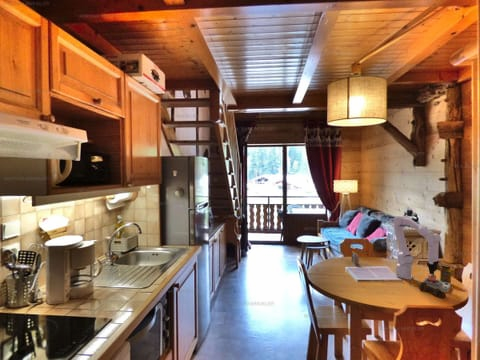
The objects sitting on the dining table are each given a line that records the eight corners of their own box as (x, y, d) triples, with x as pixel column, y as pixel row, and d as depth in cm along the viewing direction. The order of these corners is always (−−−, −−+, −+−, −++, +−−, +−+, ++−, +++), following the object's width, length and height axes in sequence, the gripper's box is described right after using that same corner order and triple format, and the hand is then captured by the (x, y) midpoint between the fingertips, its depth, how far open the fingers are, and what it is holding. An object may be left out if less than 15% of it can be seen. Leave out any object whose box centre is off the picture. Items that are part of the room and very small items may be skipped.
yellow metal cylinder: (453, 283, 209) (453, 266, 208) (447, 286, 204) (448, 268, 204) (441, 280, 215) (442, 263, 214) (435, 282, 210) (436, 265, 210)
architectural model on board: (351, 261, 260) (351, 250, 260) (354, 261, 260) (354, 250, 260) (354, 265, 249) (354, 253, 249) (358, 265, 249) (358, 253, 248)
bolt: (443, 301, 184) (420, 291, 198) (448, 296, 185) (425, 287, 199) (440, 294, 182) (417, 284, 196) (445, 289, 184) (422, 280, 198)
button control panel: (422, 287, 201) (422, 281, 201) (425, 282, 211) (425, 276, 210) (447, 292, 192) (447, 286, 192) (450, 287, 201) (450, 281, 201)
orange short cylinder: (428, 283, 201) (428, 273, 201) (427, 281, 205) (428, 272, 205) (436, 284, 199) (436, 275, 199) (435, 282, 203) (435, 273, 203)
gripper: (438, 255, 193) (438, 276, 194) (442, 250, 204) (441, 271, 205) (425, 253, 198) (425, 274, 198) (429, 249, 209) (429, 268, 209)
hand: (432, 272), depth 202 cm, fingers open, 7 cm apart
